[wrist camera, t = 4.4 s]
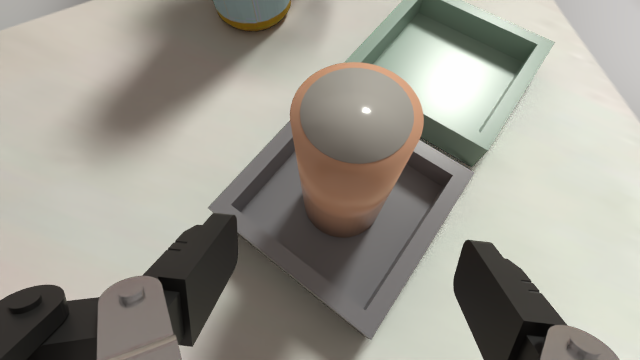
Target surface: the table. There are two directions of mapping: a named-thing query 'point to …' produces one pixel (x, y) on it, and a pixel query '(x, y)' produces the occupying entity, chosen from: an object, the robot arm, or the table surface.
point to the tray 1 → (351, 252)
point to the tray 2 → (457, 68)
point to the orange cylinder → (352, 142)
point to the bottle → (252, 13)
